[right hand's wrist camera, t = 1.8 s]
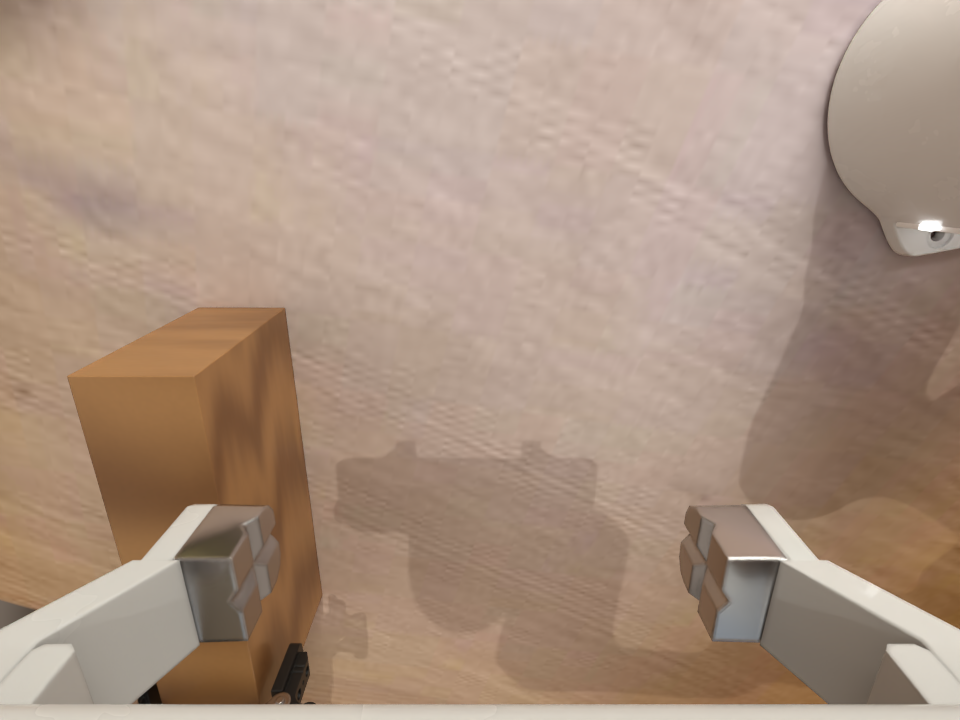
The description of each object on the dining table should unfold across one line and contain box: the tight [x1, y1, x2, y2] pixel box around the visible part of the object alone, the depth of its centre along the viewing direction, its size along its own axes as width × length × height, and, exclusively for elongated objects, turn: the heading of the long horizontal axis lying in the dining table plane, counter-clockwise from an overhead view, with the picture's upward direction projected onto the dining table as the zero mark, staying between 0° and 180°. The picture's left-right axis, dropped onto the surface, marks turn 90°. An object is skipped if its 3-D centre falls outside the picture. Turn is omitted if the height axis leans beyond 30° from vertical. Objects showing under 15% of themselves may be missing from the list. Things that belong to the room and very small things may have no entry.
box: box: [67, 308, 322, 704], centre depth 35 cm, size 25×6×12 cm, turn 0°
